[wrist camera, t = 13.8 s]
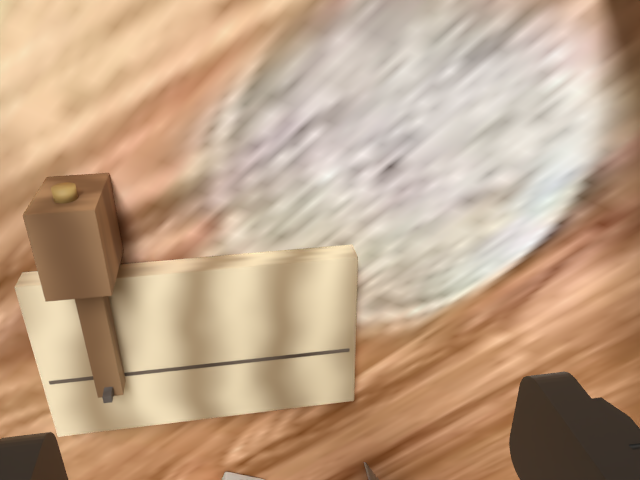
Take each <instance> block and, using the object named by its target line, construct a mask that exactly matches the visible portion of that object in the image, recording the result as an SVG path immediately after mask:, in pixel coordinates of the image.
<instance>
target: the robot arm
mask: <svg viewBox="0 0 640 480" xmlns="http://www.w3.org/2000/svg"><path fill="white" fill-rule="evenodd" d="M509 444H510V454H511V458H512V462H513V465H514V468H515V470H516V473H517V475H518V477H519V478H520V480H640V428H639V427H638V426H637V425H636V424H635V423H634V421H633V420H632V419H631V418H630V417H629V416H627V415H626V414H625V413H623V412H622V411H620V410H619V409H617V408H616V407H614V406H613V405H611V404H610V403H608V402H607V401H606V400H604V399H603V398H594V399H591V398H590V396H589V395H588V394H587V393H586V391H585V390H584V389H583V388H582V386H581V385H580V384H579V383H578V381H577V380H576V379H575V378H574V377H573V376H572V375H571V374H570V373H568V372H559V373H550V374H542V375H534V376H526V377H524V378H523V379H522V381H521V383H520V387H519V392H518V397H517V402H516V408H515V413H514V418H513V423H512V428H511V433H510V442H509ZM0 480H68V477H67V474H66V470H65V467H64V463H63V460H62V457H61V453H60V450H59V446H58V443H57V440H56V437H55V435H54V434H53V433H51V432H48V433H40V434H32V435H24V436H15V437H7V438H2V439H0Z"/></svg>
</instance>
